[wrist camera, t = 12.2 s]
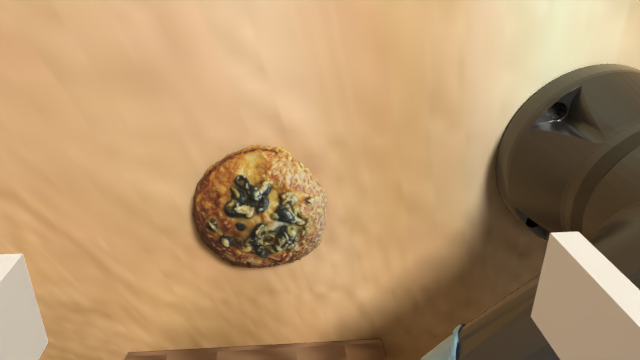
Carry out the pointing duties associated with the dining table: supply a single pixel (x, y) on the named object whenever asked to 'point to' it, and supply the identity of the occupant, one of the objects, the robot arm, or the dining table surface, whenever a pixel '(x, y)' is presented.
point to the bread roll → (260, 208)
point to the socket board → (276, 352)
